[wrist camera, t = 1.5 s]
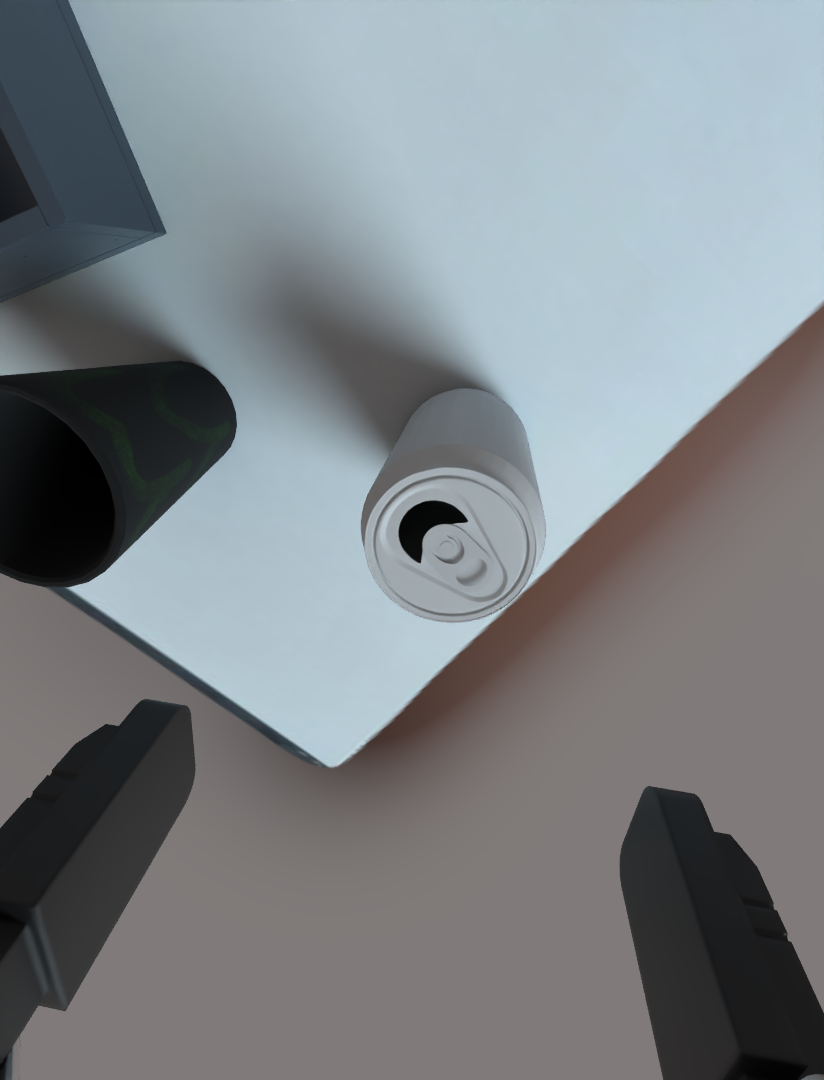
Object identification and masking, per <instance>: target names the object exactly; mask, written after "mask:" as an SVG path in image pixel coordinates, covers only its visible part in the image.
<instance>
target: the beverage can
mask: <svg viewBox="0 0 824 1080" xmlns="http://www.w3.org/2000/svg"><path fill="white" fill-rule="evenodd" d="M361 535H362V541H363V545H364V549H365V555H366V559H367V563H368V566H369V569H370V571H371V574H372V576H373V578H374V579H375V581H376V583H377V584H378V585H379V587H380V588H381V590H382V591H383V592H384V593H385V594H386V595H387V596H388V597H389V598H390V599H391V600H392V601H393V602H395V603H396V604H397V605H399V606H400V607H402V608H403V609H405V610H407V611H408V612H410V613H412V614H414V615H417V616H419V617H422V618H425V619H429V620H433V621H438V622H446V623H461V622H469V621H474V620H478V619H482V618H485V617H488V616H490V615H492V614H494V613H497V612H498V611H500V610H502V609H503V608H505V607H506V606H508V605H509V604H510V603H511V602H512V601H513V600H514V599H516V598H517V597H518V596H519V594H520V593H521V592H522V591H523V589H524V588H525V586H526V585H527V583H528V581H529V579H530V577H531V575H532V574H533V573H534V571H535V569H536V567H537V565H538V563H539V561H540V559H541V556H542V553H543V549H544V545H545V538H546V524H545V516H544V511H543V507H542V502H541V498H540V493H539V489H538V484H537V480H536V475H535V471H534V466H533V461H532V457H531V452H530V448H529V443H528V439H527V435H526V431H525V429H524V426H523V424H522V422H521V420H520V419H519V417H518V416H517V414H516V413H515V412H514V410H513V409H512V408H511V407H510V406H509V405H508V404H506V403H505V402H504V401H503V400H501V399H500V398H498V397H496V396H494V395H492V394H490V393H487V392H485V391H481V390H476V389H468V388H464V389H454V390H450V391H446V392H443V393H440V394H437V395H435V396H433V397H432V398H430V399H428V400H427V401H426V402H424V403H423V404H422V405H421V406H420V407H419V408H418V409H417V410H416V411H415V412H414V413H413V415H412V416H411V418H410V419H409V421H408V423H407V424H406V426H405V428H404V430H403V432H402V433H401V435H400V437H399V439H398V441H397V442H396V444H395V446H394V448H393V450H392V451H391V453H390V455H389V457H388V459H387V460H386V462H385V464H384V466H383V468H382V469H381V471H380V473H379V475H378V477H377V478H376V480H375V482H374V484H373V486H372V488H371V489H370V491H369V493H368V495H367V498H366V501H365V504H364V507H363V511H362V519H361Z"/></svg>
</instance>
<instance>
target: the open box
mask: <svg viewBox="0 0 824 1080" xmlns="http://www.w3.org/2000/svg"><path fill="white" fill-rule="evenodd" d="M164 234H166V231H165V228H164V226H163V224H162V221H161V219H160V217H159V214H158V212H157V210H156V207H155V205H154V202H153V200H152V198H151V195H150V193H149V191H148V188H147V186H146V184H145V181H144V179H143V177H142V174H141V172H140V169H139V167H138V165H137V162H136V160H135V158H134V155H133V153H132V151H131V148H130V146H129V143H128V141H127V139H126V136H125V134H124V132H123V129H122V127H121V125H120V122H119V120H118V117H117V115H116V113H115V110H114V108H113V106H112V103H111V101H110V99H109V96H108V94H107V92H106V89H105V87H104V84H103V82H102V80H101V77H100V75H99V73H98V70H97V68H96V66H95V63H94V61H93V58H92V56H91V54H90V51H89V49H88V47H87V44H86V42H85V40H84V37H83V35H82V33H81V30H80V28H79V25H78V23H77V21H76V18H75V16H74V14H73V11H72V9H71V7H70V4H69V2H68V0H0V302H2V301H5V300H7V299H10V298H12V297H15V296H17V295H19V294H22V293H24V292H27V291H29V290H31V289H34V288H36V287H39V286H41V285H44V284H46V283H48V282H51V281H53V280H56V279H58V278H60V277H63V276H65V275H68V274H70V273H72V272H75V271H77V270H80V269H82V268H85V267H87V266H89V265H92V264H94V263H97V262H99V261H101V260H104V259H106V258H109V257H111V256H114V255H116V254H118V253H121V252H123V251H126V250H128V249H130V248H133V247H135V246H138V245H140V244H143V243H145V242H147V241H150V240H152V239H155V238H157V237H159V236H162V235H164Z"/></svg>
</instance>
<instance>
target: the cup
mask: <svg viewBox="0 0 824 1080" xmlns="http://www.w3.org/2000/svg"><path fill="white" fill-rule="evenodd" d="M236 427H237V422H236V412H235V409H234V406H233V402H232V399H231V398H230V396H229V394H228V392H227V391H226V389H225V387H224V386H223V385H222V384H221V383H220V382H219V380H218V379H217V378H216V377H215V376H213V375H212V374H211V373H209V372H208V371H207V370H205V369H204V368H202V367H199V366H197V365H195V364H193V363H188V362H183V361H170V362H157V363H146V364H134V365H122V366H110V367H98V368H87V369H75V370H63V371H51V372H39V373H28V374H16V375H4V376H0V573H2V574H4V575H7V576H9V577H11V578H14V579H16V580H18V581H21V582H24V583H29V584H33V585H38V586H42V587H71V586H75V585H79V584H83V583H86V582H89V581H91V580H92V579H94V578H95V577H97V576H99V575H100V574H102V573H103V572H105V571H106V570H107V569H108V568H109V567H110V566H111V565H112V564H113V563H114V562H115V561H116V560H117V559H118V558H119V557H120V556H121V555H122V554H123V553H124V552H125V551H126V550H127V549H128V548H129V547H130V546H131V545H132V544H133V543H135V542H136V541H137V540H138V539H139V538H140V537H141V536H142V535H143V534H144V533H145V532H146V531H147V530H148V529H149V528H150V527H151V526H152V525H153V524H154V523H155V522H156V521H157V520H158V519H159V518H160V517H161V516H162V515H163V514H164V513H165V512H166V511H167V510H168V509H169V508H170V507H171V506H172V505H173V504H174V503H175V502H176V501H177V500H178V499H179V498H180V497H181V496H182V495H183V494H184V493H185V492H186V491H187V490H188V489H190V488H191V487H192V486H193V485H194V484H195V483H196V482H197V481H198V480H199V479H200V478H201V477H202V476H203V475H204V474H205V473H206V472H207V471H208V470H209V469H210V468H211V467H212V466H213V465H214V464H215V463H216V462H217V461H218V460H219V459H220V458H221V457H222V456H223V455H224V454H225V453H226V452H227V450H228V449H229V448H230V447H231V444H232V442H233V440H234V438H235V433H236Z"/></svg>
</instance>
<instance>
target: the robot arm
mask: <svg viewBox="0 0 824 1080" xmlns="http://www.w3.org/2000/svg"><path fill="white" fill-rule="evenodd" d="M194 776H195V757H194V745H193V734H192V723H191V713H190V709H189V708H188V707H187V706H185V705H179V704H173V703H167V702H161V701H156V700H150V699H144V700H142V701H140V702H139V703H138V704H137V705H136V706H135V707H134V709H133V710H132V711H131V712H130V713H129V715H128V716H127V717H126V718H125V719H124V721H123V722H122V723H121V724H120V725H119V726H115V725H108V724H105V725H104V726H102V727H101V728H99V729H98V730H96V731H95V732H93V733H91V734H90V735H88V736H87V737H85V738H84V739H82V740H81V741H79V742H78V743H76V744H75V745H74V746H73V747H72V748H71V749H70V750H69V752H68V753H67V754H66V755H65V756H64V757H63V758H62V760H61V761H60V762H59V763H58V764H57V765H56V766H55V768H53V770H52V773H51V775H50V776H48V775H47V776H46V778H45V779H44V780H43V781H42V782H41V783H40V784H39V785H38V786H37V788H36V789H35V790H34V791H33V794H32V796H31V798H27V799H26V800H25V801H24V802H23V803H22V804H21V806H20V807H19V808H18V809H17V810H16V811H15V813H13V815H12V816H11V817H10V818H9V819H8V820H7V821H6V822H5V824H4V825H3V826H2V827H1V828H0V1080H20V1034H21V1032H22V1031H23V1029H24V1028H25V1026H26V1024H27V1023H28V1021H29V1020H30V1018H31V1016H32V1014H33V1013H34V1011H35V1010H36V1008H37V1007H38V1005H39V1006H43V1007H48V1008H53V1009H58V1010H62V1011H66V1009H67V1007H68V1006H69V1004H70V1002H71V1000H72V999H73V997H74V995H75V994H76V992H77V990H78V988H79V987H80V985H81V983H82V981H83V980H84V978H85V976H86V975H87V973H88V971H89V969H90V968H91V966H92V964H93V962H94V961H95V959H96V957H97V956H98V954H99V952H100V950H101V949H102V947H103V945H104V943H105V942H106V940H107V938H108V937H109V935H110V933H111V931H112V929H113V928H114V926H115V924H116V923H117V921H118V919H119V918H120V916H121V914H122V912H123V910H124V909H125V907H126V905H127V904H128V902H129V900H130V898H131V897H132V895H133V893H134V892H135V890H136V888H137V886H138V885H139V883H140V881H141V880H142V878H143V876H144V874H145V873H146V871H147V869H148V867H149V866H150V864H151V862H152V860H153V859H154V857H155V855H156V854H157V852H158V850H159V848H160V847H161V845H162V843H163V841H164V840H165V838H166V836H167V834H168V832H169V831H170V829H171V828H172V826H173V824H174V823H175V821H176V819H177V817H178V816H179V814H180V812H181V810H182V809H183V807H184V805H185V803H186V801H187V799H188V797H189V794H190V792H191V789H192V785H193V781H194ZM620 880H621V886H622V891H623V896H624V901H625V905H626V909H627V914H628V919H629V924H630V928H631V933H632V937H633V942H634V946H635V951H636V956H637V960H638V965H639V970H640V974H641V979H642V983H643V988H644V993H645V997H646V1002H647V1006H648V1011H649V1016H650V1020H651V1025H652V1029H653V1034H654V1039H655V1043H656V1048H657V1053H658V1057H659V1062H660V1066H661V1071H662V1075H663V1080H824V1013H823V1011H822V1008H821V1006H820V1004H819V1002H818V1000H817V997H816V995H815V993H814V991H813V989H812V986H811V984H810V982H809V980H808V978H807V975H806V973H805V971H804V969H803V967H802V964H801V962H800V960H799V958H798V956H797V954H796V951H795V949H794V947H793V945H792V943H791V942H789V941H788V939H787V931H786V929H785V927H784V925H783V923H782V921H781V918H780V916H779V914H778V912H777V910H774V908H773V904H774V903H773V901H772V898H771V896H770V894H769V892H768V890H767V887H766V885H765V883H764V881H763V879H762V876H761V874H760V872H759V870H758V868H757V866H756V865H755V864H754V863H753V861H752V860H751V859H750V858H749V857H748V855H747V854H746V853H745V852H744V851H743V849H742V848H741V847H740V846H739V845H738V843H737V842H736V841H735V840H734V839H733V837H732V836H731V835H729V834H723V833H718V832H714V831H713V828H712V826H711V823H710V821H709V818H708V816H707V814H706V811H705V808H704V806H703V804H702V802H701V800H700V799H699V797H698V796H697V795H695V794H692V793H686V792H680V791H674V790H668V789H663V788H657V787H651V786H648V787H646V788H645V789H644V791H643V793H642V795H641V798H640V800H639V803H638V805H637V808H636V811H635V813H634V816H633V818H632V821H631V823H630V826H629V829H628V831H627V834H626V836H625V839H624V842H623V844H622V848H621V854H620Z"/></svg>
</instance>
